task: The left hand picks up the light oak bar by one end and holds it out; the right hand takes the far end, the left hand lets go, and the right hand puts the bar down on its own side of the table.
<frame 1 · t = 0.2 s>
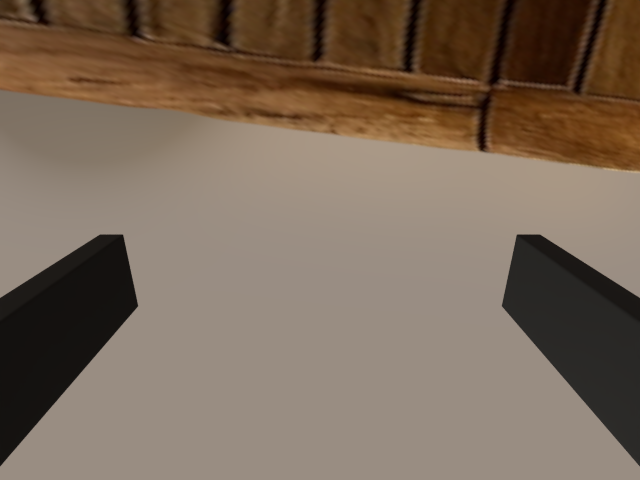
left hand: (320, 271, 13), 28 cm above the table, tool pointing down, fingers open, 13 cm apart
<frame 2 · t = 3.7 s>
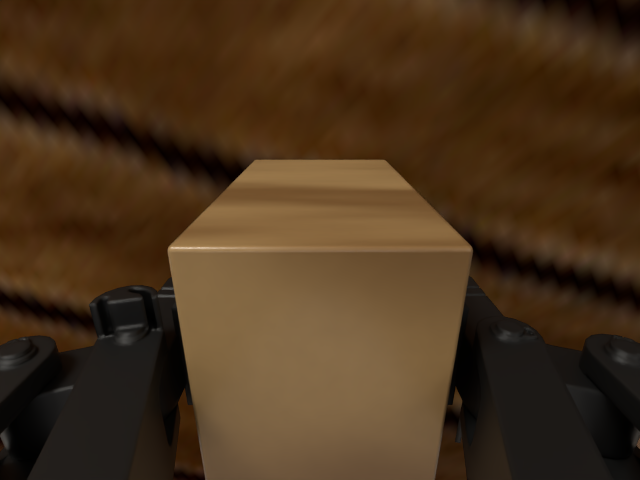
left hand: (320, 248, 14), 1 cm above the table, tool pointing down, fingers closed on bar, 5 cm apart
bar: (320, 387, 18), on the table, touching left hand
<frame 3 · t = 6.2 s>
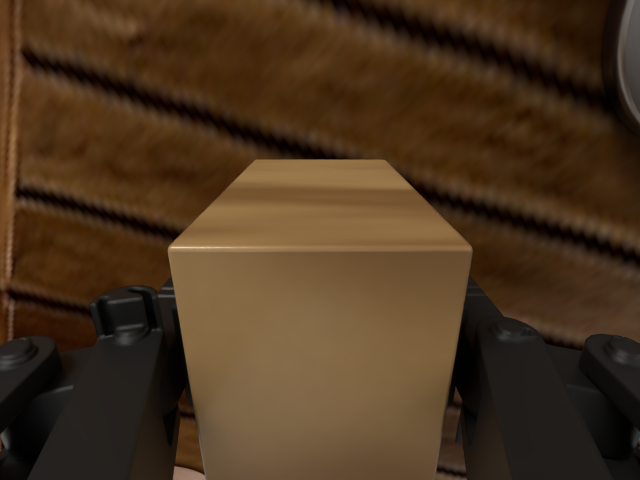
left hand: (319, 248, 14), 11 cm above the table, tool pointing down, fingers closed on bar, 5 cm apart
bar: (320, 387, 18), point 11 cm above the table, touching left hand
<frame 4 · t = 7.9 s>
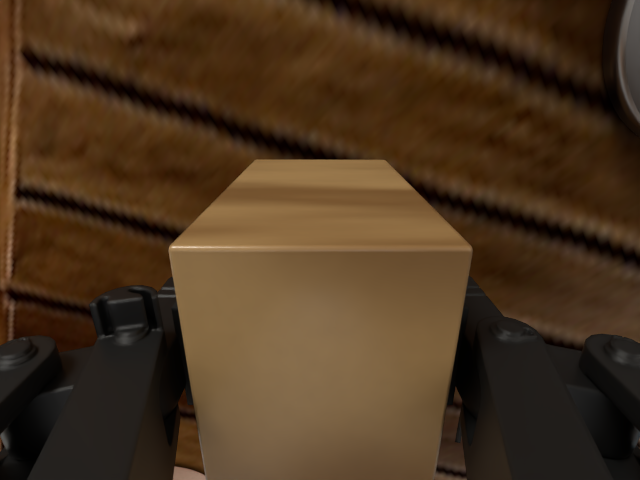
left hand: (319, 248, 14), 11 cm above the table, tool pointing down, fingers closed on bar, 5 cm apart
bar: (319, 387, 18), point 11 cm above the table, touching left hand, right hand
when the left hand's fingers open (11 cm above the table, at t = 8.9 s): bar stays where it is, held by the right hand.
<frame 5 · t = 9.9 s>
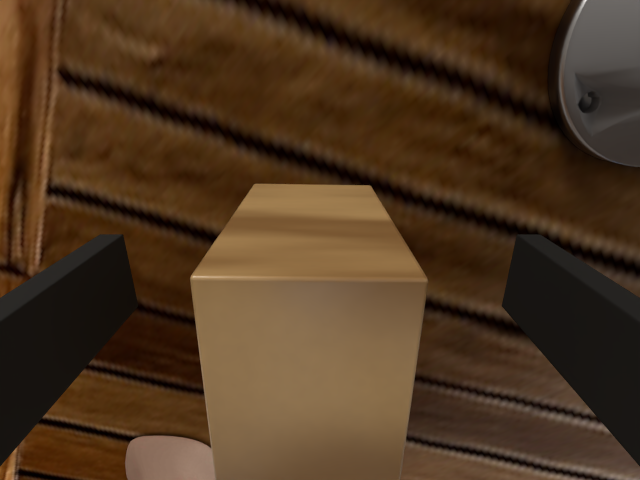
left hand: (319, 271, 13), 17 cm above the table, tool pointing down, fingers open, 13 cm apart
anatomical model: (182, 473, 41), on the table
bar: (310, 387, 19), point 13 cm above the table, touching right hand
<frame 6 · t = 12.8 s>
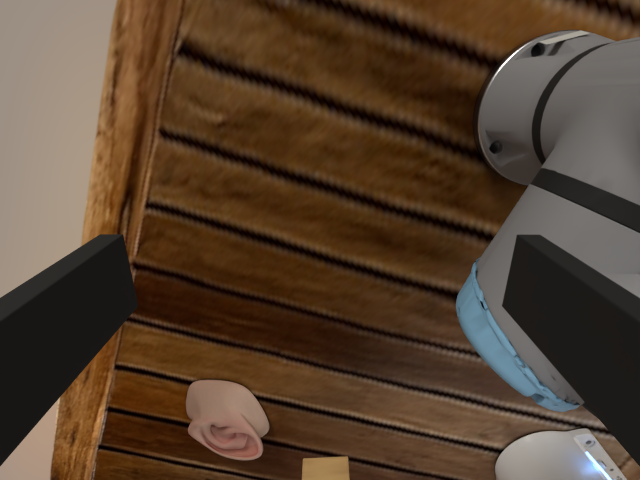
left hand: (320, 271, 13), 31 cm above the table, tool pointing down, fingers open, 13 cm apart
anatomical model: (226, 410, 55), on the table
when the right hand's fingers open (4 cm above the table, at t = 17.6 s): bar drops 1 cm, on the table.
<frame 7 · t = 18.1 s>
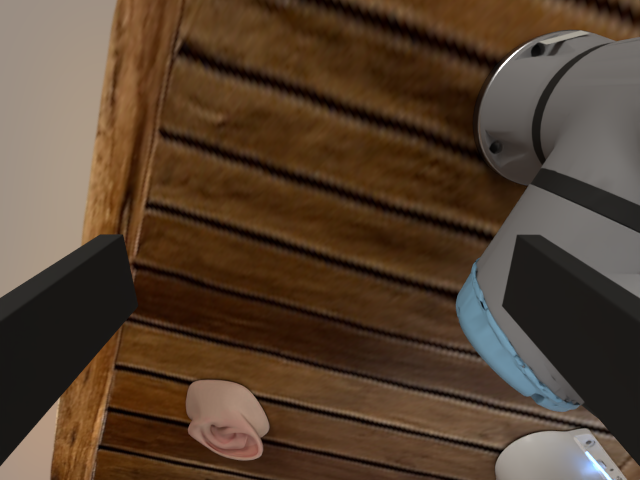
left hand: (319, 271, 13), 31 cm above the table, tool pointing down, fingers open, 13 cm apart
anatomical model: (226, 410, 55), on the table
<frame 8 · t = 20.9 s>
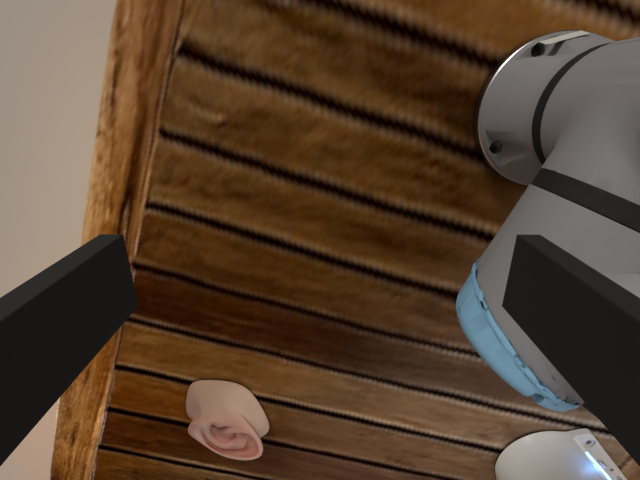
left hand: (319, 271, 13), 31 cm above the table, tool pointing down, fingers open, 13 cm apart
anatomical model: (226, 410, 55), on the table
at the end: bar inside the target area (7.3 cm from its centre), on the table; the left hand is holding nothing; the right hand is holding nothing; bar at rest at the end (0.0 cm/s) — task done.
